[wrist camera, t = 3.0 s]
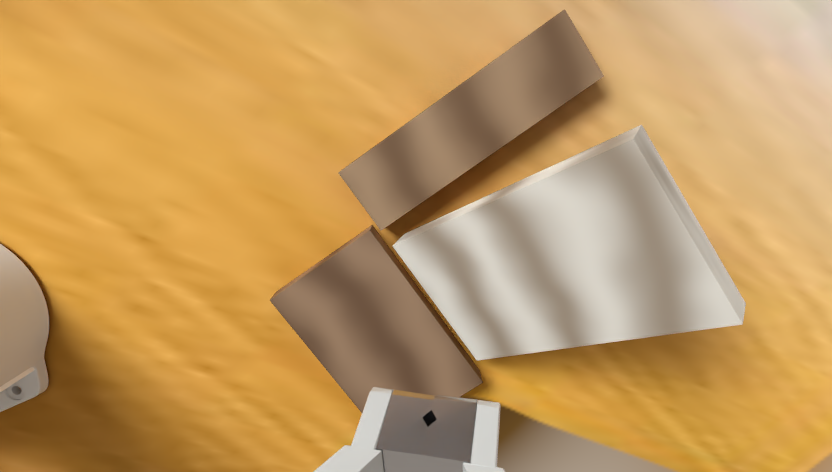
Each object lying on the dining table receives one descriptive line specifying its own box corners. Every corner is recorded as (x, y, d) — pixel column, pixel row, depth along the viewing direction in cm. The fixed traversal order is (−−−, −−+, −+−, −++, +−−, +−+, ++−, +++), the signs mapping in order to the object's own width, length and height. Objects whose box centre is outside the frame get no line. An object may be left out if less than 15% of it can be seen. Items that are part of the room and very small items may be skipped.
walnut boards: (387, 428, 45) (386, 442, 43) (238, 244, 41) (229, 251, 39) (689, 239, 41) (703, 245, 39) (557, 14, 37) (564, 9, 35)
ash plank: (486, 345, 43) (476, 360, 42) (404, 233, 40) (392, 246, 39) (745, 303, 28) (742, 324, 27) (641, 124, 26) (633, 139, 25)
